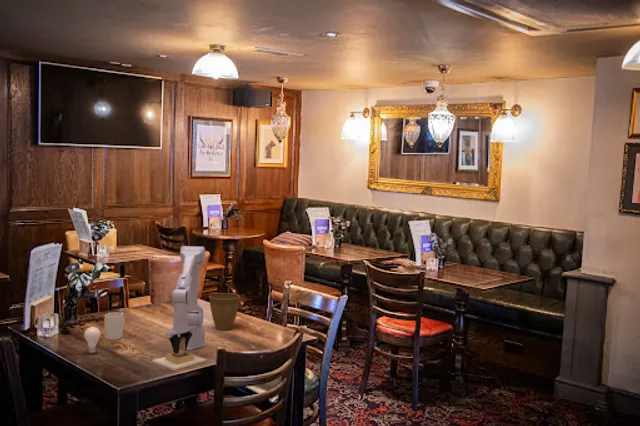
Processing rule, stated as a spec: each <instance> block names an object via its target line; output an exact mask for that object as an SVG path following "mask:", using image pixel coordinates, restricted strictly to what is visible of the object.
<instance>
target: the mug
mask: <svg viewBox="0 0 640 426" xmlns="http://www.w3.org/2000/svg"><path fill="white" fill-rule="evenodd" d="M125 320H126V314H125V313H124V312H116V311H115V312H108V313H105V314H104V327H103V328H104V331H103V334H104V339H105V340H111V341H112V340H114V341H115V340H120V339H123V337H124V323H125Z"/></svg>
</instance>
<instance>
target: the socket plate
mask: <svg viewBox="0 0 640 426" xmlns="http://www.w3.org/2000/svg"><path fill="white" fill-rule="evenodd" d="M207 360H208V359H206V358H204V357H200V356H198V355H195V354H193V353H191V352H187V351H185V356H183V357H180V358H178V357H175V353H174V352H170V353H169V352H168V353H166V354H165V356H164V357H159V358H156V359H153V360H152V363H154V364H157V365H159V366H162V367H165V368H167V369H169V370H173V371H177V370H181V369H184V368H188V367H192V366H196V365H199V364H203V363H206V362H208V361H207Z"/></svg>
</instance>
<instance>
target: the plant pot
mask: <svg viewBox="0 0 640 426" xmlns="http://www.w3.org/2000/svg"><path fill="white" fill-rule="evenodd" d="M208 298H209V305H210V312H211V315H212V316H211V317H212V320H213V322H214V323H213V324H214V326H215V328H216V330H218V331H229V329H230V330H231V329H232V328H233V326H234V323H235V321H236V317H237V314H238V310H239V306H240V301H241V295H239V294H237V293H231V292H230V293H229V292H220V293H219V292H217V293H212V294H210V295H209V297H208Z"/></svg>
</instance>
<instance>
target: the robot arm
mask: <svg viewBox="0 0 640 426" xmlns="http://www.w3.org/2000/svg"><path fill="white" fill-rule="evenodd" d="M179 255H180V256H179V257H180V259H181V262H182V263H183V264H182V270H181V271H182V273H180V274H179V275H178V277H177V282H176V286H175V289H173V290H172V293H171V302H172V308H173V315H172V316H173V322H172V323H173V325H172V327H171V329H170V330H169V331H166V332H165V338H168V340H169V342H170V344H171V347H172V351H173V352H174V353H179V345H180V341H181V338H182V337H185V352H187V351H191V350H195V349H199V348H203V347H206V346H207V345H206V343H205V341H206V330H205V327H204V326H203V323H204V310H203V307H201V305H200V304H198V296H199V280H200V279H199V278H200V269H201V267H203V266H204V265H205V262H206V247H204V246H193V245H192V246H191V245H190V246H189V245H188V246H187V245H182V246H181V247H180V252H179ZM173 352H172V353H173Z"/></svg>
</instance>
